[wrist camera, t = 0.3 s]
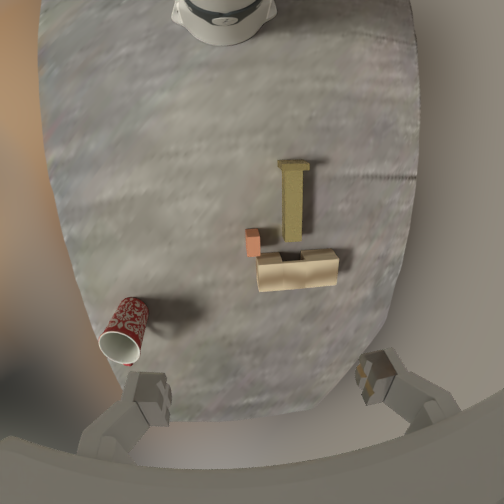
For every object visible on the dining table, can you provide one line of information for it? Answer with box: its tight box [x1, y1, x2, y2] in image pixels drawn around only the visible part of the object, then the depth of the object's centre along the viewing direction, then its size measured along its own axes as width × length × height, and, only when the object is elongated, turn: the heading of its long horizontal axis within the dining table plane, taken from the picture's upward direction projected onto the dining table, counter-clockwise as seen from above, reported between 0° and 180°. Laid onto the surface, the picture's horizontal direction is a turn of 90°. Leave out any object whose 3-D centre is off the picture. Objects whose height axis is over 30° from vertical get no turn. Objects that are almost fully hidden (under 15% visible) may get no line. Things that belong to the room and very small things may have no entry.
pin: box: [278, 160, 310, 242], centre depth 54 cm, size 15×5×5 cm, turn 2°
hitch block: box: [256, 248, 339, 292], centre depth 60 cm, size 6×16×5 cm, turn 92°
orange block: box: [245, 229, 260, 257], centre depth 57 cm, size 4×2×4 cm, turn 2°
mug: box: [98, 297, 149, 366], centre depth 59 cm, size 13×9×14 cm
